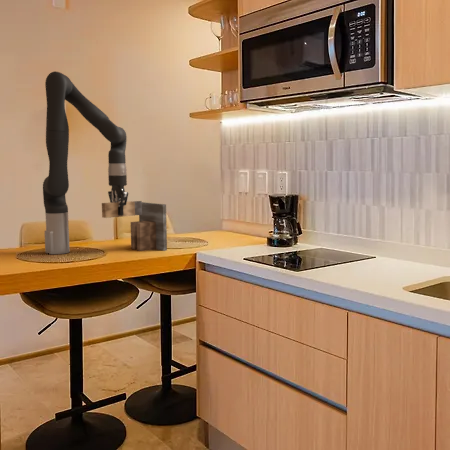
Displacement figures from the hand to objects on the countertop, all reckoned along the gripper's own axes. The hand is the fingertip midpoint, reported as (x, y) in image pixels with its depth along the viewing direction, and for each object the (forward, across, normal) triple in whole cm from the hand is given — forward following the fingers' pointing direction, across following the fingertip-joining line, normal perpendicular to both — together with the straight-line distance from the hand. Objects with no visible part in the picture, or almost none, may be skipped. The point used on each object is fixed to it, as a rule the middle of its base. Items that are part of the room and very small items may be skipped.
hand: (118, 215), depth 230 cm
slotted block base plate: (+16, 0, +12) cm, 20 cm away
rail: (+1, 0, +2) cm, 2 cm away
